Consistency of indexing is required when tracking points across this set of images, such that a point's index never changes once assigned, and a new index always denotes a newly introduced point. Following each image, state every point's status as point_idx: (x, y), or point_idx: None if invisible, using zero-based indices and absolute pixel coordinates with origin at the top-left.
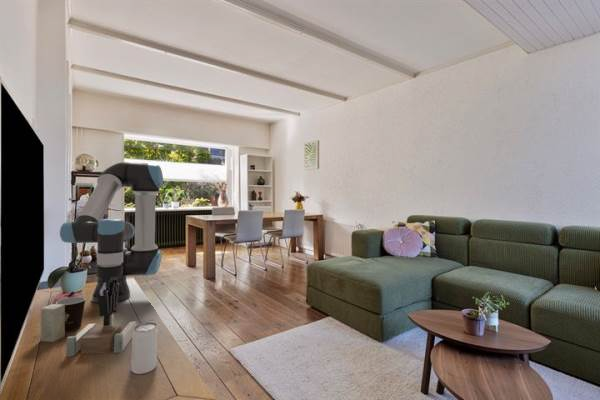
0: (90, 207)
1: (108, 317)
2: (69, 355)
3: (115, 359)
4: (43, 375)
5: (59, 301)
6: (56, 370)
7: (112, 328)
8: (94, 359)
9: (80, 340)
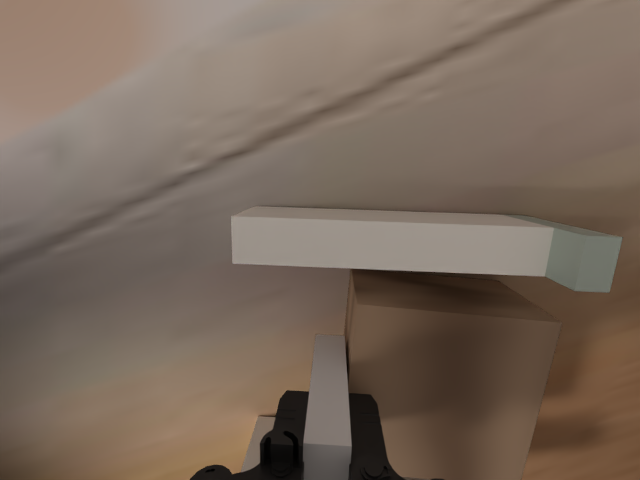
0: None
1: (386, 457)
2: None
3: (598, 221)
4: (635, 476)
5: None
6: (609, 446)
7: (397, 350)
8: None
9: None
